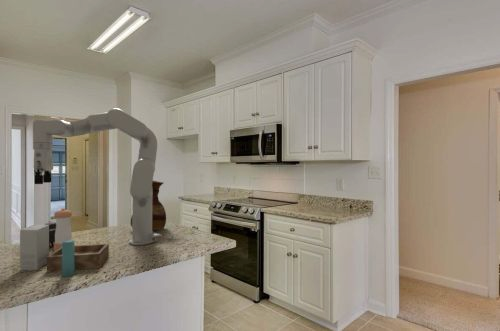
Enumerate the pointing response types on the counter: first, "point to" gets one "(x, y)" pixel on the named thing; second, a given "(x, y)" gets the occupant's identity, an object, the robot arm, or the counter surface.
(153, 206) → the ceramic pitcher
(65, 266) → the peg
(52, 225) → the battery charger
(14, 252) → the counter surface
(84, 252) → the box
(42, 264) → the skincare box
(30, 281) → the counter surface
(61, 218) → the salt shaker
